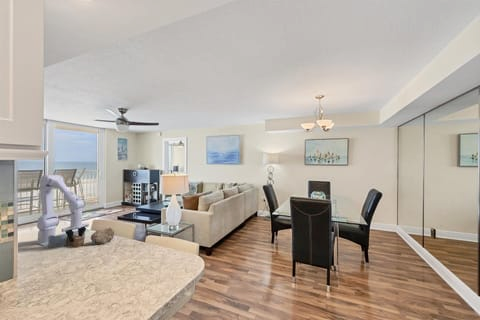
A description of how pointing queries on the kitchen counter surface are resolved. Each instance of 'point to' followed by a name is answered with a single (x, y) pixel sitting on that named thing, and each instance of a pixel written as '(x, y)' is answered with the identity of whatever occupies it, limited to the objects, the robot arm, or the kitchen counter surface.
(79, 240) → the brown block
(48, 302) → the kitchen counter surface
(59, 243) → the blue-grey stepped platform
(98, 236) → the coral
